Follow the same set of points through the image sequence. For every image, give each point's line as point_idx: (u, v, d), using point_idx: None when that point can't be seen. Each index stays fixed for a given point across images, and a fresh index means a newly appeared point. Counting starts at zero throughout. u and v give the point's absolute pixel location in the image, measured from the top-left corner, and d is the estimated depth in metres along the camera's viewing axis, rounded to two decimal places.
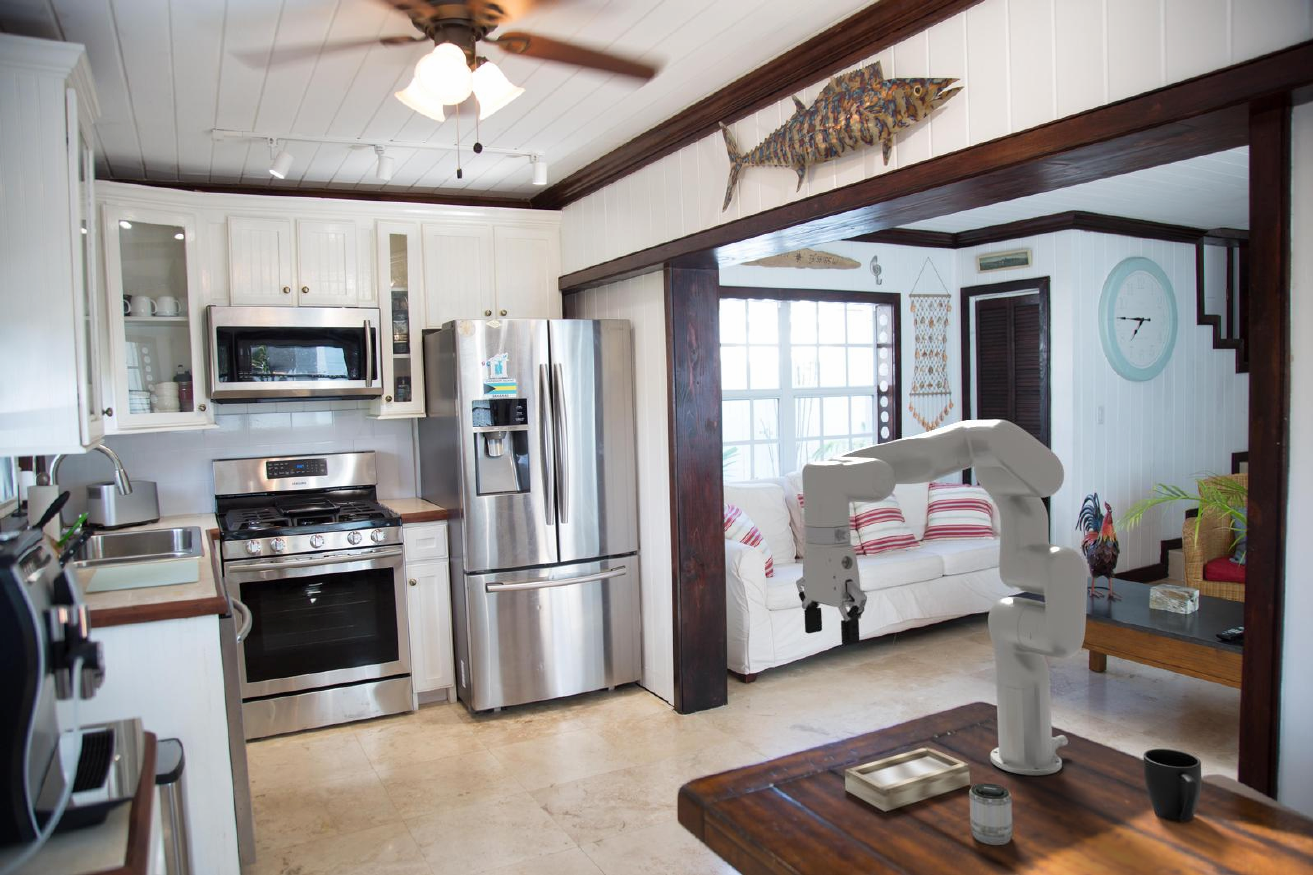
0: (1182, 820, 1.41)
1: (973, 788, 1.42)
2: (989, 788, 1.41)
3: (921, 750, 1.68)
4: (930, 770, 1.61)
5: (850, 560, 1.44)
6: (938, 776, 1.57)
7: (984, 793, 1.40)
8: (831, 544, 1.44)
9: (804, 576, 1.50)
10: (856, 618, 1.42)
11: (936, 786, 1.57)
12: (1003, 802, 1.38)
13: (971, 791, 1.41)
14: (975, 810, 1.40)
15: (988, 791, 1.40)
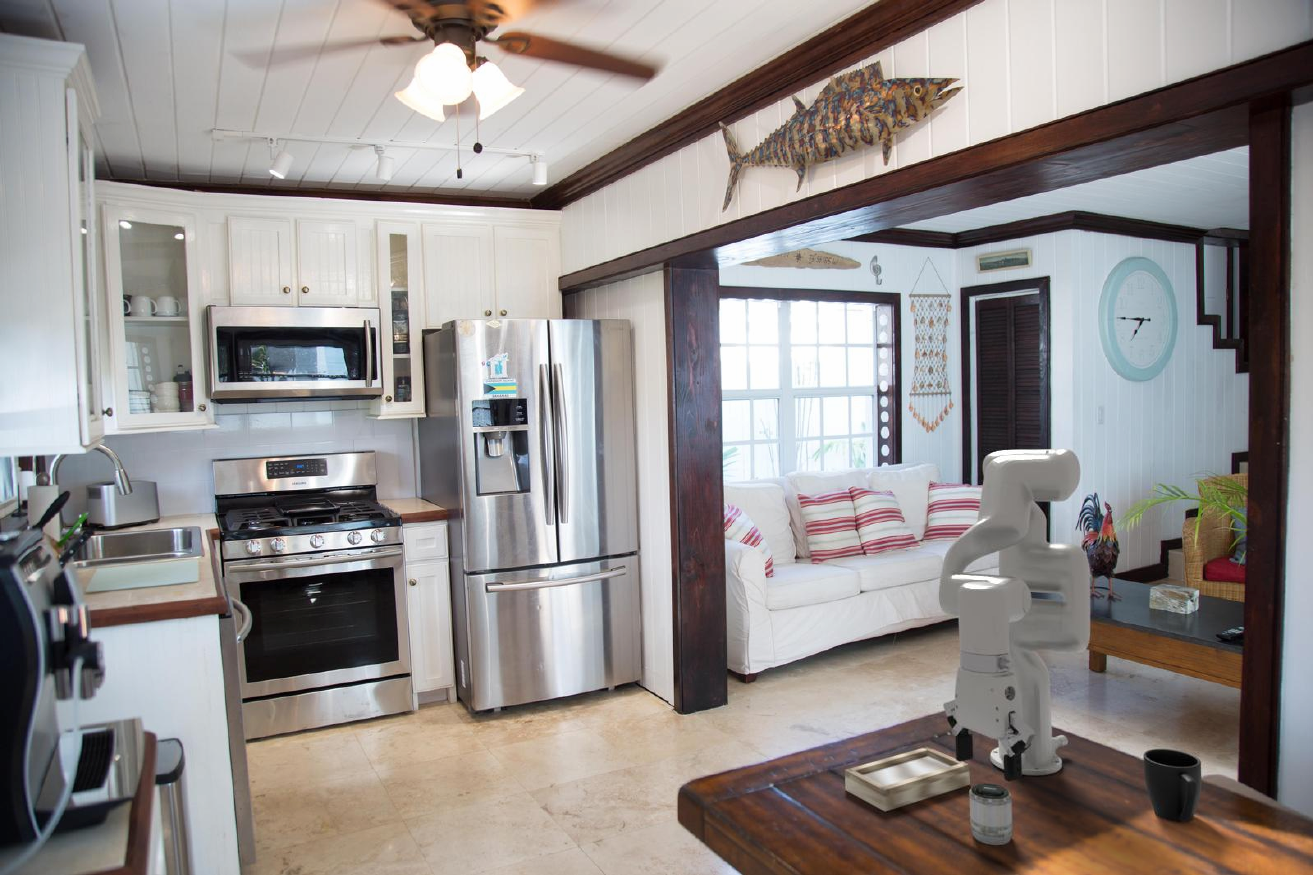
0: (1182, 820, 1.41)
1: (973, 788, 1.42)
2: (989, 788, 1.41)
3: (921, 750, 1.68)
4: (930, 770, 1.61)
5: (1012, 690, 1.37)
6: (938, 776, 1.57)
7: (984, 793, 1.40)
8: (993, 673, 1.37)
9: (958, 702, 1.43)
10: (1020, 753, 1.35)
11: (936, 786, 1.57)
12: (1003, 802, 1.38)
13: (971, 791, 1.41)
14: (975, 810, 1.40)
15: (988, 791, 1.40)
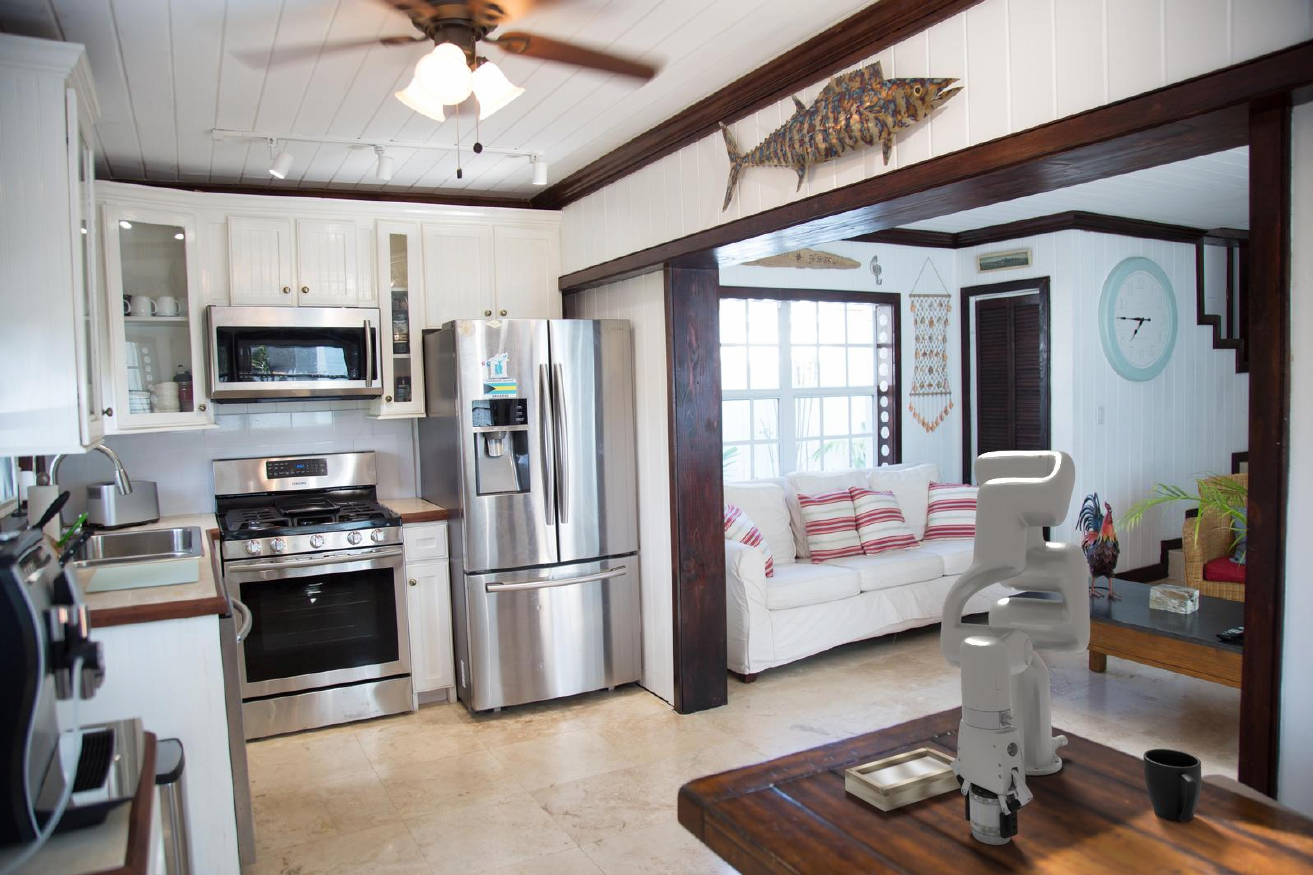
0: (1182, 820, 1.41)
1: (973, 788, 1.42)
2: None
3: (921, 750, 1.68)
4: (930, 770, 1.61)
5: (1015, 746, 1.37)
6: (938, 776, 1.57)
7: (984, 793, 1.40)
8: (995, 729, 1.37)
9: (960, 755, 1.43)
10: (1015, 811, 1.37)
11: (936, 786, 1.57)
12: None
13: (971, 791, 1.41)
14: (975, 809, 1.40)
15: (988, 790, 1.40)
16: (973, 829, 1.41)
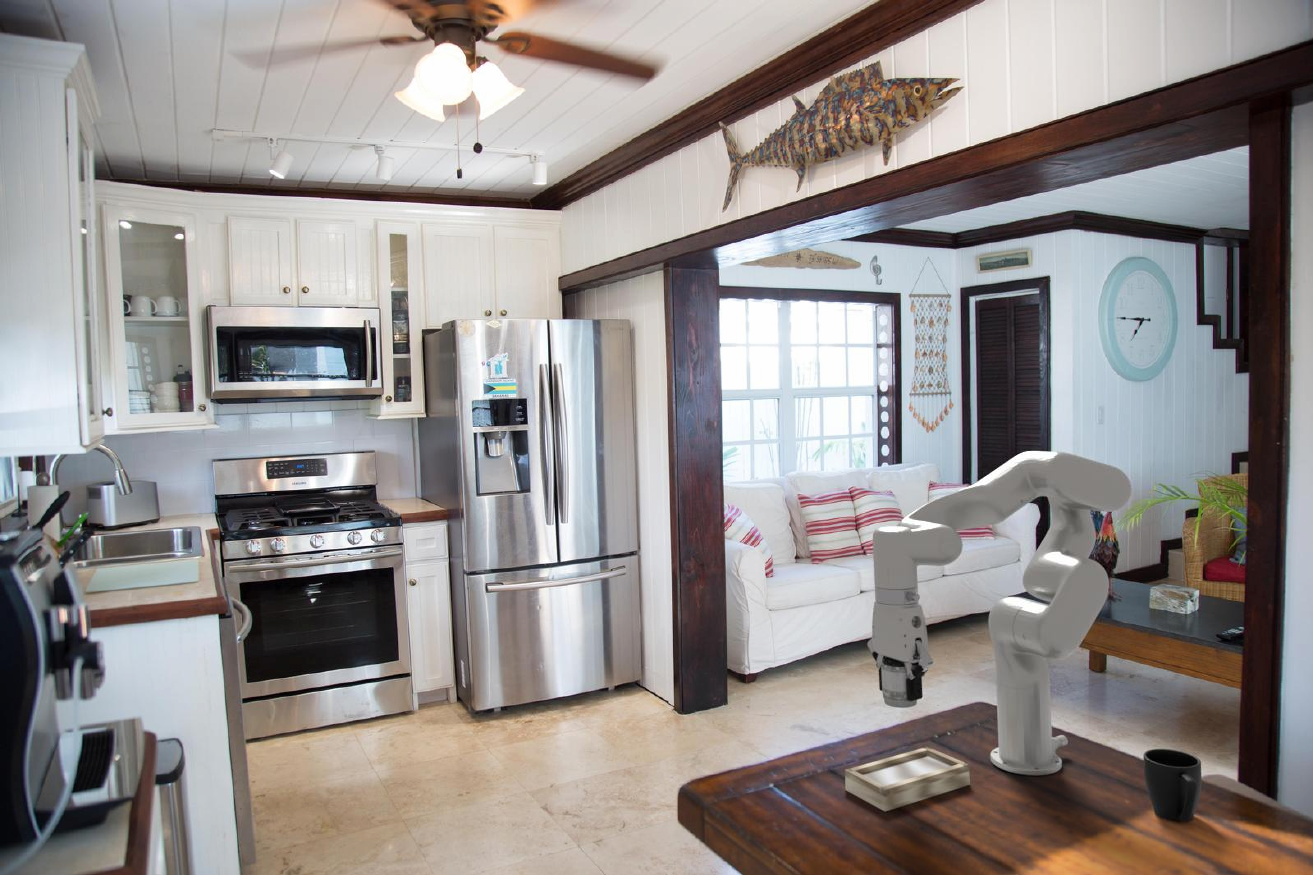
0: (1182, 820, 1.41)
1: (884, 660, 1.61)
2: None
3: (921, 750, 1.68)
4: (930, 770, 1.61)
5: (919, 619, 1.56)
6: (938, 776, 1.57)
7: (893, 663, 1.58)
8: (901, 605, 1.56)
9: (874, 632, 1.62)
10: (919, 677, 1.56)
11: (936, 786, 1.57)
12: None
13: (882, 663, 1.60)
14: (885, 678, 1.58)
15: (896, 661, 1.59)
16: (884, 696, 1.59)
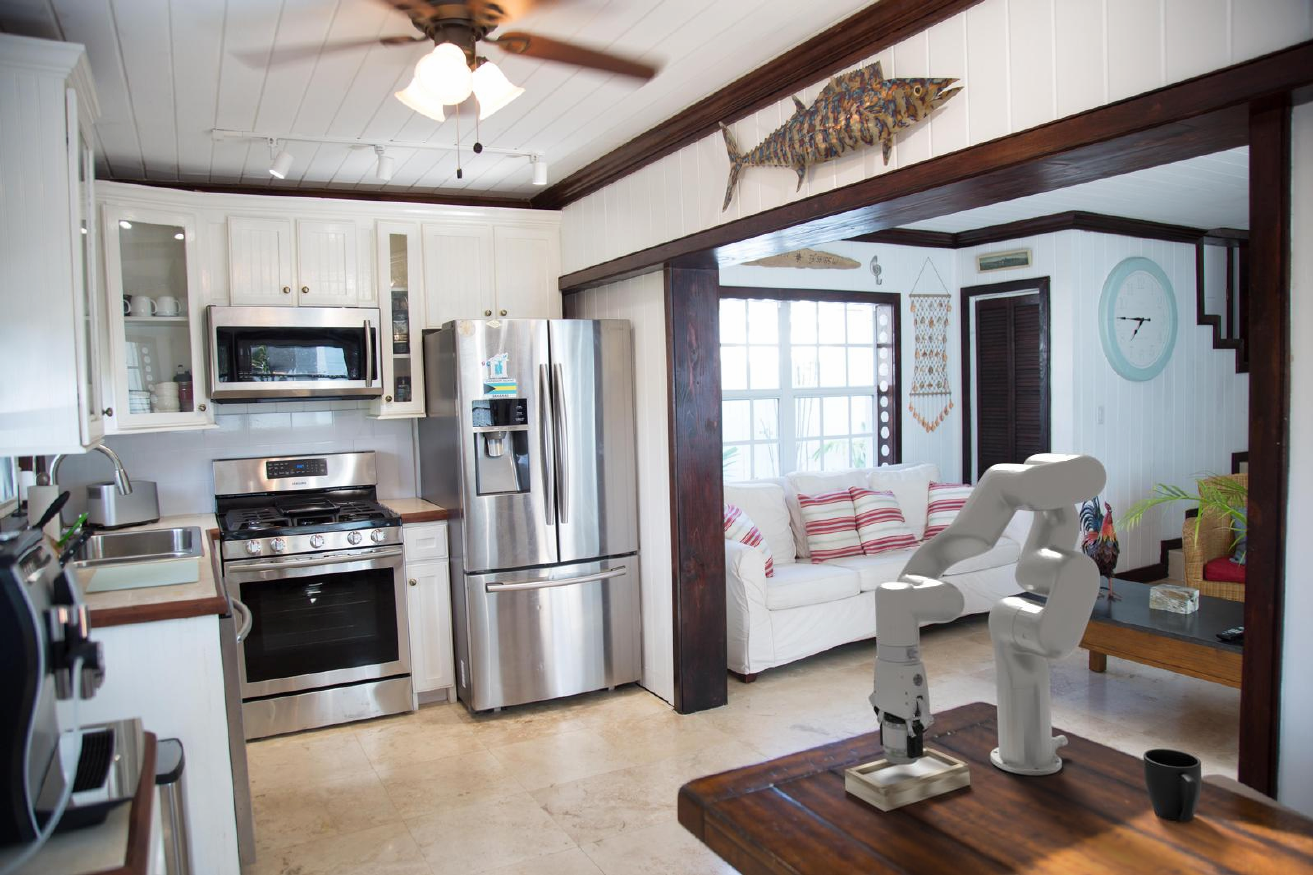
0: (1182, 820, 1.41)
1: (885, 716, 1.61)
2: None
3: None
4: (930, 770, 1.61)
5: (920, 677, 1.56)
6: (938, 776, 1.57)
7: (894, 719, 1.59)
8: (903, 662, 1.56)
9: (876, 687, 1.62)
10: (920, 735, 1.56)
11: (936, 786, 1.57)
12: None
13: (883, 718, 1.60)
14: (886, 734, 1.59)
15: (897, 717, 1.59)
16: (884, 752, 1.60)
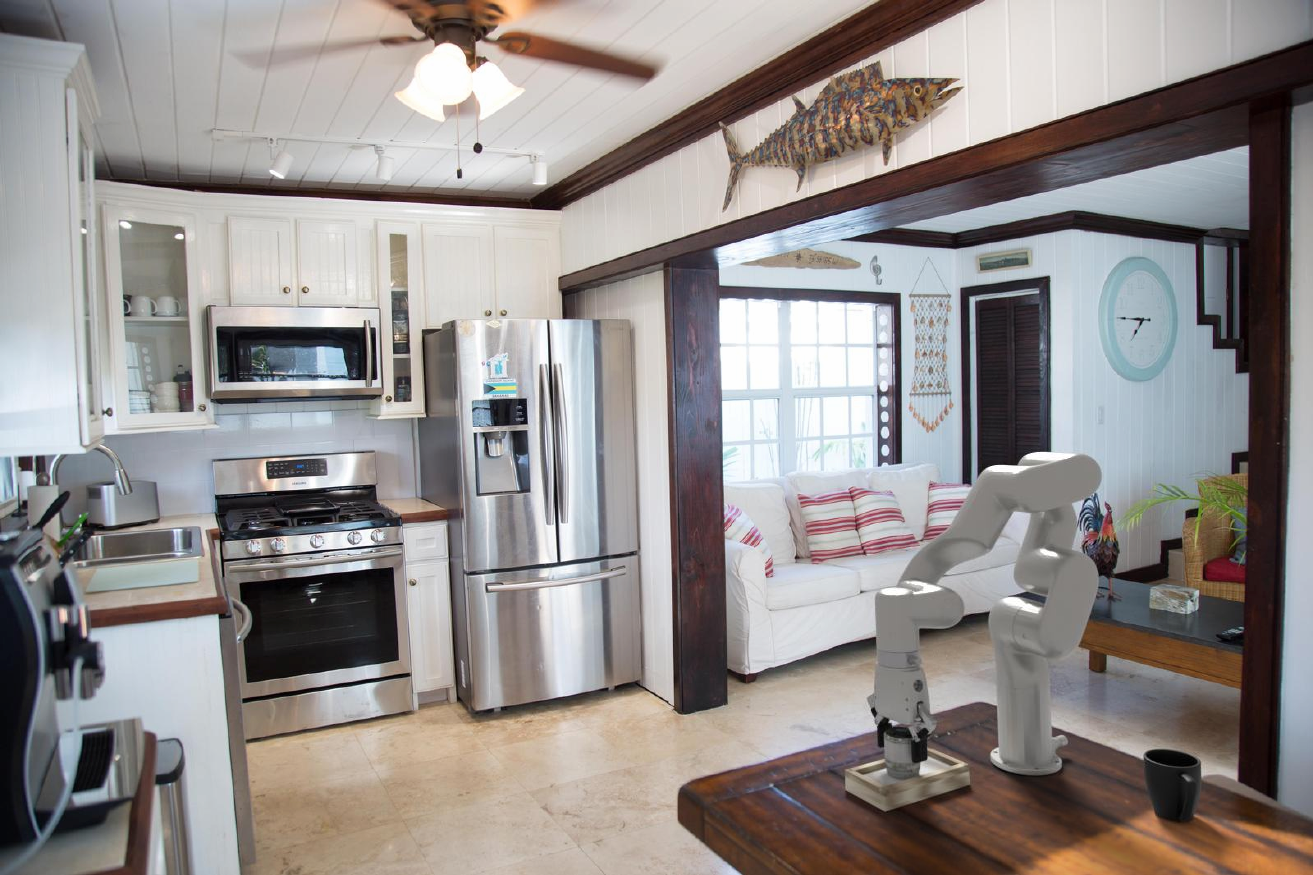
0: (1182, 820, 1.41)
1: (887, 730, 1.61)
2: (901, 730, 1.60)
3: None
4: (930, 770, 1.61)
5: (921, 683, 1.56)
6: (938, 776, 1.57)
7: (895, 734, 1.59)
8: (903, 668, 1.56)
9: (876, 693, 1.62)
10: (925, 739, 1.55)
11: (936, 786, 1.57)
12: None
13: (885, 733, 1.61)
14: (888, 748, 1.59)
15: (899, 732, 1.59)
16: (886, 766, 1.60)
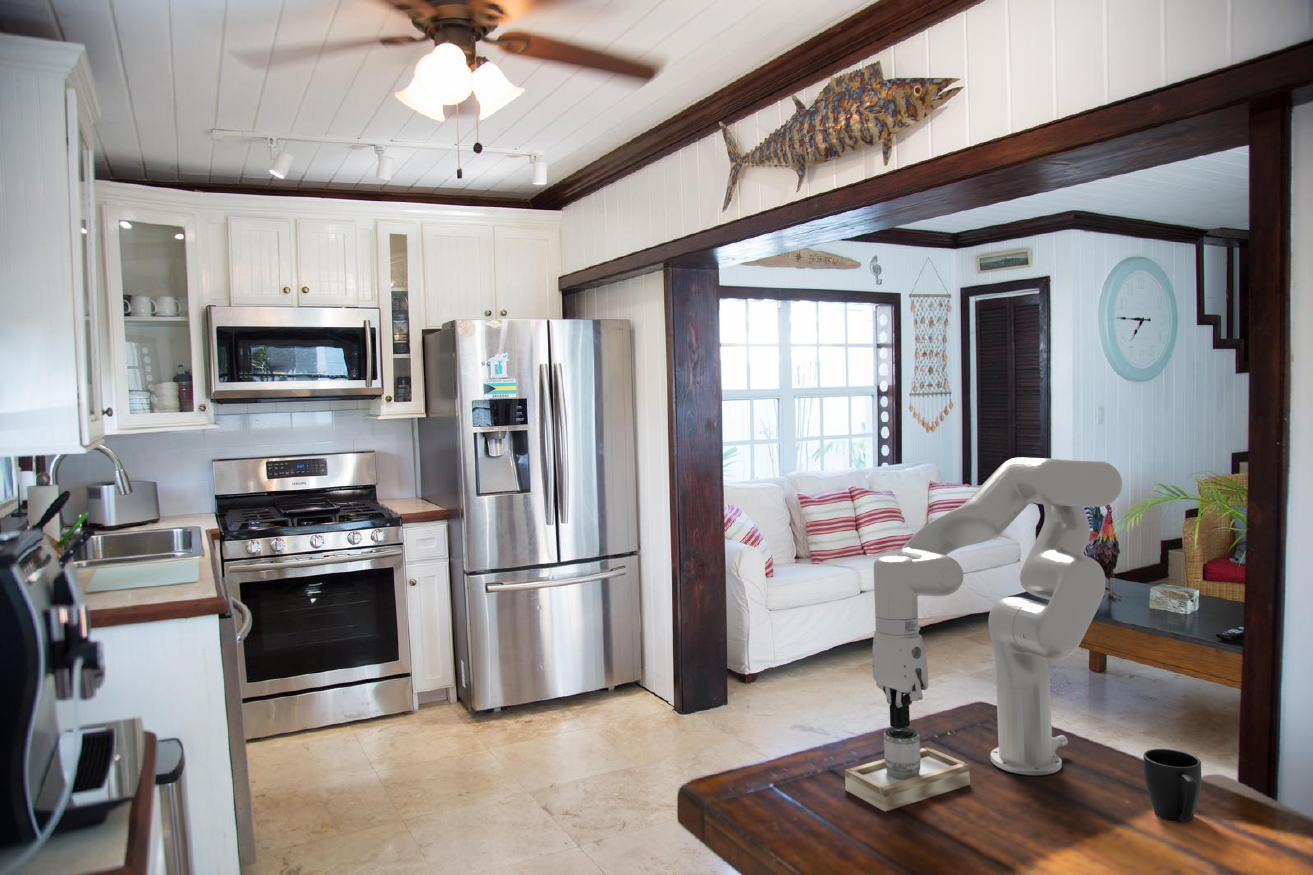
0: (1182, 820, 1.41)
1: (887, 730, 1.61)
2: (901, 730, 1.60)
3: (921, 750, 1.68)
4: (930, 770, 1.61)
5: (919, 650, 1.56)
6: (938, 776, 1.57)
7: (895, 734, 1.59)
8: (902, 635, 1.56)
9: (874, 661, 1.62)
10: (906, 706, 1.59)
11: (936, 786, 1.57)
12: (911, 741, 1.57)
13: (885, 733, 1.60)
14: (888, 749, 1.59)
15: (899, 732, 1.59)
16: (886, 766, 1.60)
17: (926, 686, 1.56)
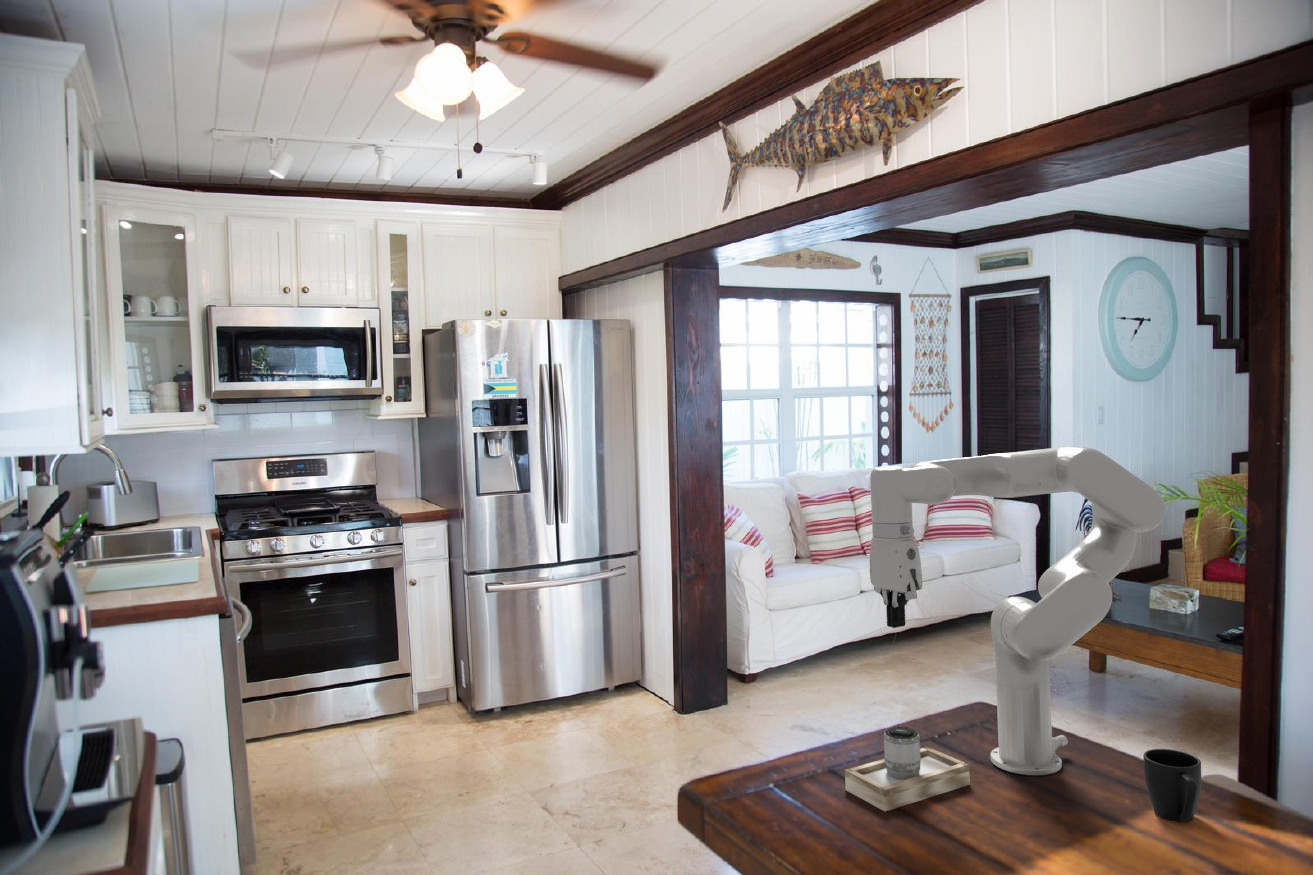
0: (1182, 820, 1.41)
1: (887, 730, 1.61)
2: (901, 730, 1.60)
3: (921, 750, 1.68)
4: (930, 770, 1.61)
5: (913, 552, 1.66)
6: (938, 776, 1.57)
7: (895, 734, 1.59)
8: (897, 538, 1.66)
9: (871, 566, 1.72)
10: None
11: (936, 786, 1.57)
12: (911, 741, 1.57)
13: (885, 733, 1.60)
14: (888, 749, 1.59)
15: (899, 732, 1.59)
16: (886, 766, 1.60)
17: (920, 586, 1.66)
